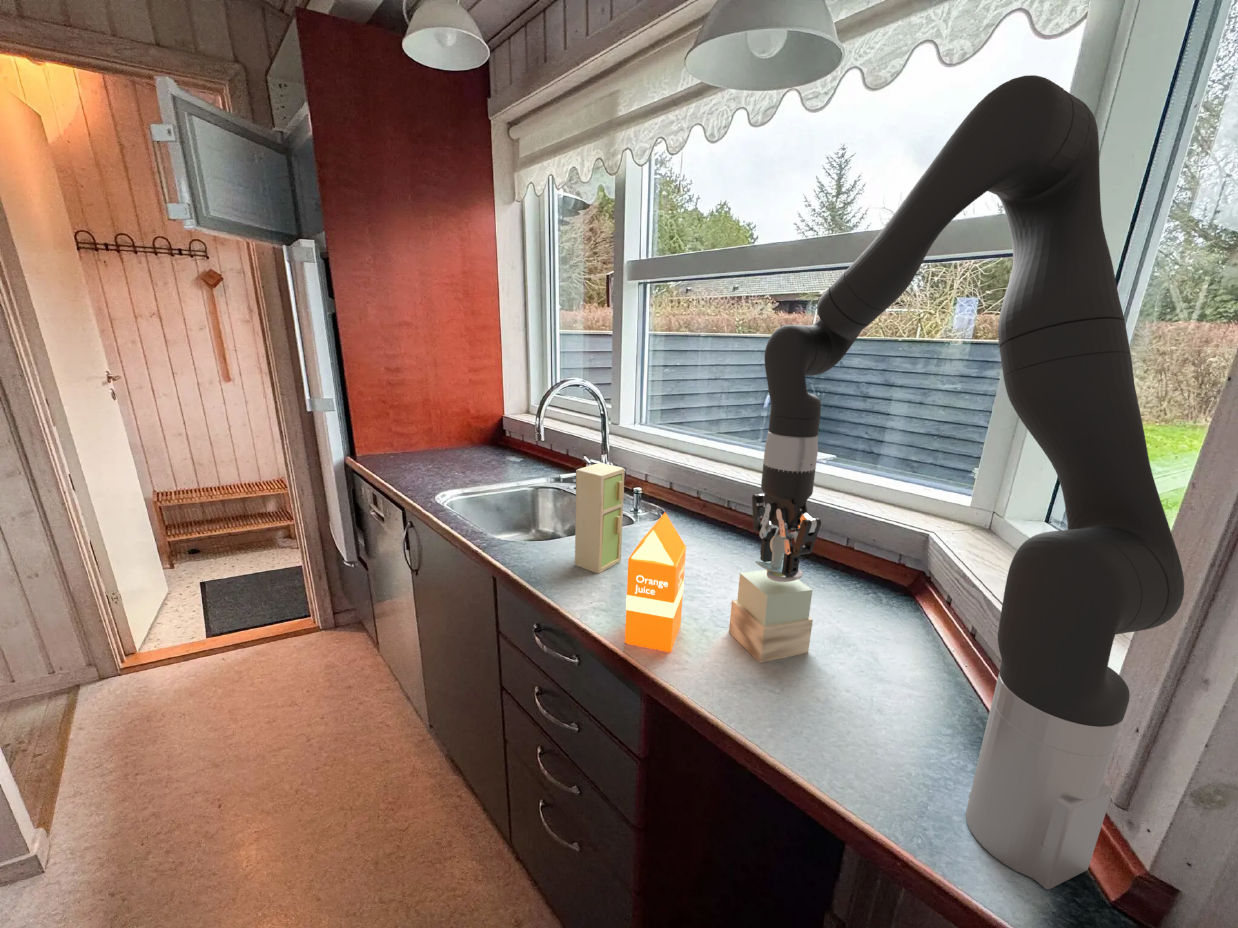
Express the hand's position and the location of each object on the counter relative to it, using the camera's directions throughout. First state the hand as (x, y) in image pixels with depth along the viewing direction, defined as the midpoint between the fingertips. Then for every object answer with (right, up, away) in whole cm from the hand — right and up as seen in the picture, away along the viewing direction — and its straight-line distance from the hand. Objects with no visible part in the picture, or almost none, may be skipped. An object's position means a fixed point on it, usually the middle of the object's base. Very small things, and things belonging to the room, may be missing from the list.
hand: (777, 567), depth 85 cm
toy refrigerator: (-29, -5, +30) cm, 42 cm away
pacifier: (0, -1, 0) cm, 1 cm away
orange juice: (-19, -12, +5) cm, 23 cm away
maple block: (-1, -13, +3) cm, 13 cm away
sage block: (0, -7, +2) cm, 7 cm away
